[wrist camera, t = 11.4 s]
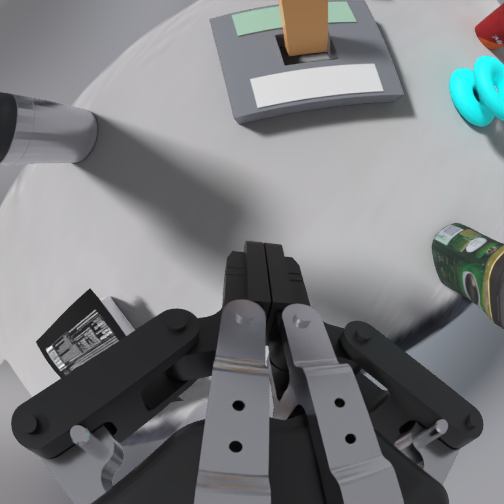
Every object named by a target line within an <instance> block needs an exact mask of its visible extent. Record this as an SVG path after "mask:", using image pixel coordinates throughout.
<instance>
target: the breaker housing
mask: <svg viewBox="0 0 504 504" xmlns="http://www.w3.org/2000/svg"><path fill="white" fill-rule="evenodd" d="M209 20H210V24H211V28H212V31H213V35H214V39H215V43H216V47H217V51H218V55H219V59H220V63H221V67H222V71H223V75H224V80H225V84H226V88H227V92H228V96H229V100H230V104H231V108H232V112H233V117H234V119H235V120H236V121H237V123H238V124H243V123H247V122H251V121H255V120H260V119H264V118H269V117H274V116H279V115H284V114H290V113H295V112H301V111H307V110H313V109H320V108H327V107H335V106H344V105H353V104H364V103H378V102H393V101H395V100H396V99H398V98H399V97H401V96H402V95H404V93H403V89H402V86H401V83H400V80H399V78H398V75H397V72H396V69H395V66H394V64H393V61H392V59H391V56H390V53H389V51H388V49H387V46H386V44H385V41H384V39H383V37H382V35H381V32H380V30H379V28H378V26H377V24H376V22H375V20H374V18H373V16H372V14H371V12H370V10H369V8H368V6H367V4H366V2H365V0H328V47H327V52H328V55H329V58H330V60H324V61H315V62H307V63H299V64H293V65H286V66H285V65H284V62H283V59H282V56H281V53H280V50H279V47H285V40H284V33H283V27H282V20H281V14H280V8H279V5H272V6H266V7H260V8H254V9H249V10H245V11H240V12H236V13H231V14H227V15H223V16H220V17H216V18H212V19H209Z"/></svg>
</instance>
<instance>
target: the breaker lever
mask: <svg viewBox="0 0 504 504" xmlns="http://www.w3.org/2000/svg"><path fill="white" fill-rule="evenodd" d="M278 2H279V8H280V14H281V20H282V27H283V33H284V40H285V48H286V50H287V52H288V54H289V56H295V55H302V54H310V53H319V52H327V47H328V0H278Z"/></svg>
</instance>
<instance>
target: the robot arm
mask: <svg viewBox="0 0 504 504" xmlns="http://www.w3.org/2000/svg"><path fill="white" fill-rule="evenodd" d="M96 137H97V122H96V119H95V117H94V115H93V114H92V113H91V112H90V111H88V110H84V109H80V108H76V107H73V106H68V105H64V104H60V103H56V102H51V101H47V100H42V99H37V98H32V97H27V96H21V95H15V94H8V93H1V92H0V165H12V164H13V165H14V164H34V163H76V162H80V161H82V160H83V159H84V158H86V157H87V156H88V154H89V153H90V152H91V150H92V148H93V146H94V144H95V141H96ZM265 346H268V347H269V354H268V357H267V361H266V363H267V366H266V365H265ZM361 369H364V370H365V371H366V372H367V373H369V374H370V375H371V376H372V377H374V378H375V379H376V380H377V381H378V382H380V383H381V384H382V385H383V386H385V387H386V388H387V389H388V390H387V391H385V390H382V389H380V388H379V387H378V386H377V385H375V384H374V383H373V382H372V381H371V380H369V379H368V378H367V377H366V376H364V375H363V374H362V373H361V372H360V370H361ZM208 376H212V377H211V384H210V391H209V398H208V404H207V411H206V418H205V419H204V420H200V421H197V422H193V423H191V424H188V425H186V426H185V427H183V428H181V429H179V430H178V431H177V432H175V433H174V434H173V435H172V436H170V437H169V438H168V439H167V440H166V441H165V442H164V443H163V444H162V445H161V446H160V447H159V448H157V449H156V450H155V451H154V452H153V453H152V454H151V455H150V456H148V457H147V458H146V459H145V460H144V461H143V462H142V463H140V464H139V465H138V466H137V467H136V468H135V469H133V470H132V471H131V472H130V473H129V474H128V475H126V476H125V477H124V478H123V479H122V480H120V481H119V482H118V483H117V484H115V485H114V486H113V483H112V480H113V476H114V473H115V472H116V471H117V469H118V468H119V467H120V466H121V464H122V463H123V459H124V453H123V449H122V446H121V445H120V443H121V442H122V441H123V440H125V439H126V438H127V437H129V436H130V435H131V434H133V433H134V432H135V431H136V430H138V429H139V428H140V427H142V426H143V425H144V424H145V423H147V422H148V421H149V420H150V419H152V418H153V417H154V416H155V415H156V414H158V413H159V412H160V411H161V410H163V409H164V408H165V407H166V406H167V405H169V404H170V403H171V402H172V401H173V400H175V399H176V398H177V397H178V396H179V395H181V394H182V393H183V392H184V391H185V390H186V389H188V388H189V387H190V386H191V385H192V384H193V383H194V382H195V381H196V380H197V379H198V378H203V377H208ZM269 381H270V386H271V392H272V398H273V404H274V410H273V418H270V417H269ZM11 422H12V423H11V425H12V431H13V434H14V436H15V438H16V439H17V441H18V442H19V443H20V444H21V445H23V446H24V447H26V448H27V449H29V450H30V451H32V452H34V453H35V454H36V455H37V456H39V457H40V458H41V459H42V460H43V462H44V463H45V465H46V466H47V468H48V469H49V471H50V472H51V474H52V475H53V477H54V478H55V479H56V481H57V482H58V483H59V485H60V486H61V487H62V489H63V490H64V491H65V493H66V494H67V495H68V496H69V498H70V499H71V500H72V501H73V503H74V504H449V498H448V495H447V492H446V490H445V488H444V487H443V483H444V481H445V479H446V477H447V475H448V473H449V471H450V469H451V467H452V465H453V463H454V461H455V458H456V456H457V454H458V452H459V450H460V448H462V447H463V446H465V445H466V444H468V443H470V442H471V441H473V440H474V439H476V438H477V437H479V436H480V434H481V433H482V430H483V419H482V416H481V414H480V412H479V411H478V410H477V409H476V408H475V407H474V406H473V405H471V404H470V403H469V402H468V401H466V400H465V399H464V398H463V397H461V396H460V395H459V394H457V393H456V392H455V391H454V390H453V389H451V388H450V387H449V386H448V385H446V384H445V383H444V382H443V381H441V380H440V379H439V378H438V377H436V376H435V375H434V374H432V373H431V372H430V371H429V370H427V369H426V368H425V367H424V366H422V365H421V364H420V363H418V362H417V361H416V360H415V359H413V358H412V357H411V356H410V355H408V354H407V353H406V352H404V351H403V350H402V349H401V348H399V347H398V346H397V345H395V344H394V343H393V342H392V341H390V340H389V339H388V338H386V337H385V336H384V335H382V334H381V333H380V332H379V331H377V330H376V329H375V328H373V327H372V326H371V325H369V324H367V323H365V322H362V321H352V322H350V323H348V324H347V325H346V327H345V329H344V328H340V327H337V326H333V325H330V324H327V323H325V322H323V321H322V318H321V316H320V314H319V313H318V312H317V311H316V310H315V309H313V308H312V307H310V303H309V299H308V295H307V292H306V288H305V285H304V282H303V277H302V275H301V270H300V267H299V265H298V263H297V262H296V261H295V260H294V259H293V258H292V257H284V253H283V248H282V245H281V244H272V243H264V244H263V243H262V242H253V241H246V242H245V247H244V252H235V251H232V252H231V254H230V255H229V256H228V257H227V262H226V270H225V279H224V288H223V305H222V309H221V310H220V311H219V312H217V313H216V314H214V315H212V316H208V317H203V318H197V317H196V316H195V315H194V314H192V313H191V312H189V311H187V310H184V309H170V310H166V311H164V312H162V313H161V314H159V315H158V316H156V317H155V318H153V319H151V320H150V321H148V322H147V323H145V324H144V325H142V326H141V327H139V328H138V329H136V330H135V331H133V332H132V333H130V334H129V335H127V336H126V337H124V338H122V339H121V340H119V341H118V342H116V343H115V344H113V345H112V346H110V347H109V348H107V349H106V350H104V351H103V352H101V353H99V354H98V355H96V356H95V357H93V358H92V359H90V360H89V361H87V362H86V363H84V364H83V365H81V366H80V367H78V368H77V369H75V370H73V371H72V372H70V373H69V374H67V375H66V376H64V377H63V378H61V379H60V380H58V381H57V382H55V383H54V384H52V385H50V386H49V387H47V388H46V389H44V390H43V391H41V392H40V393H38V394H37V395H35V396H34V397H32V398H30V399H29V400H28V401H26V402H24V403H23V404H21V405H20V406H19V407H18V408H17V409H16V410H15V412H14V413H13V416H12V421H11Z"/></svg>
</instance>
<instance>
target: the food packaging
mask: <svg viewBox="0 0 504 504" xmlns="http://www.w3.org/2000/svg"><path fill="white" fill-rule="evenodd" d="M133 331H135V329H134V328H133V326H132V325H131V324H130V323H129V321H128V320H127V319H126V317H125V316H124V315H123V313H122V312H121V311H120V309H119V308H118V307H117V305H116V304H115V303H114V301H113V300H112V298H111V297H110V296H107V297H104V298H102V299H99V298H98V297H97V296H96V294H95V293H94V292H93V291H92V290H91V289H89V290H88V291H86V292H85V293H84V294H83V295H82V296H81V297H80V298H79V299H77V300H76V301H75V302H74V303H73V304H72V305H71V306H70V307H69V308H68V309H67V310H66V311H65V312H64V313H63V314H62V315H61V316H60V317H59V318H58V319H57V320H56V321H55V323H54V324H53V325H52V326H51V327H50V328H49V329H48V330H47V331H46V332H45V333H44V334H43V335H42V336H41V337H40V338H39V339H38V340H37V341H36V343H37V345H38V347H39V348H40V350H41V352H42V354H43V355H44V357H45V358H46V360H47V361H48V363H49V364H50V366H51V367H52V368H53V369H54V371H55V372H56V373H57V374H58V375H59V376H60V377H61V378H63V377H64V376H66V375H67V374H69V373H70V372H72V371H73V370H75V369H77V368H78V367H80V366H81V365H83V364H84V363H86V362H87V361H89V360H90V359H92V358H93V357H95V356H96V355H98V354H99V353H101V352H103V351H104V350H106V349H107V348H109V347H110V346H112V345H113V344H115V343H116V342H118V341H119V340H121V339H122V338H124V337H126V336H127V335H129V334H130V333H132V332H133ZM181 400H182V399H181V398H179V397H177V398H176V399H175V400H173V401H172V402H175V401H181Z"/></svg>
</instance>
